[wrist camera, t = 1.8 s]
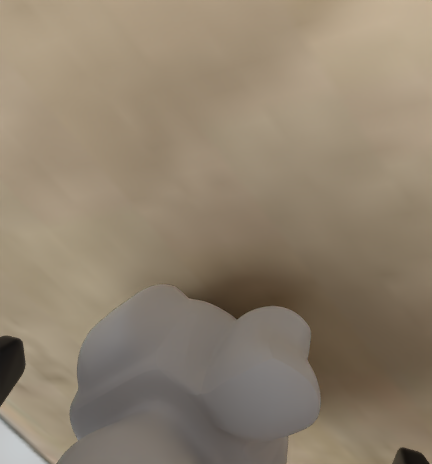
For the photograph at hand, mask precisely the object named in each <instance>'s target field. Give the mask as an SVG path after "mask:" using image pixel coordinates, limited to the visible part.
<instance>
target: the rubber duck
mask: <svg viewBox="0 0 432 464" xmlns="http://www.w3.org/2000/svg"><path fill="white" fill-rule="evenodd" d="M310 342H311V329H310V327H309V326H308V324H307V323H306V322H305V321H304V319H303V318H302V317H300V316H299V315H298V314H297V313H295V312H294V311H292V310H290V309H287V308H284V307H279V306H266V307H261V308H257V309H254V310H251V311H249V312H247V313H245V314H244V315H242V316H241V317H240V318H239V319H236V318H234V317H233V316H232V315H230V314H229V313H227V312H226V311H224V310H222V309H221V308H219V307H217V306H215V305H213V304H210V303H208V302H205V301H201V300H195V299H190V298H188V297H187V296H186V295H185V294H184V293H183V292H182V291H181V290H179V289H178V288H177V287H175V286H173V285H169V284H158V285H153V286H150V287H148V288H145V289H143V290H141V291H140V292H138V293H137V294H135V295H134V296H133V297H131V298H130V299H128V300H127V301H125V302H124V303H123V304H121V305H120V306H118V307H117V308H115V309H114V310H113V311H111V312H110V313H109V314H108V315H107V316H106V317H105V318H103V319H102V320H101V321H100V322H98V323H97V324H96V325H95V326H94V327H93V328H92V329H91V330H90V331H89V333H88V335H87V336H86V338H85V340H84V342H83V344H82V347H81V349H80V353H79V357H78V364H77V378H78V391H77V393H76V395H75V397H74V399H73V401H72V404H71V406H70V421H71V425H72V428H73V431H74V433H75V435H76V437H77V439H78V441H77V442H76V443H75V444H73V445H72V446H71V447H70V448H69V449H68V450H67V451H66V452H65V453H64V454H63V455H62V457H61V458H60V459H59V461H58V462H57V464H286V462H287V452H288V435H291V434H294V433H297V432H299V431H301V430H304V429H306V428H307V427H309V426H310V425H312V424H313V423H314V422H315V420H316V419H317V417H318V415H319V412H320V406H321V396H320V389H319V385H318V381H317V378H316V375H315V373H314V371H313V369H312V368H311V366H310V364H309V362H308V354H309V348H310Z"/></svg>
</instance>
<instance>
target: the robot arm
mask: <svg viewBox="0 0 432 464" xmlns="http://www.w3.org/2000/svg"><path fill="white" fill-rule="evenodd" d="M25 365H26V363H25V355H24V347H23V342H22V341H21V339H19V338H15V337H12V336H2V337H0V406H1V405H2V403H3V402H4V401H5V399H6V398H7V396H8V395H9V393H10V392H11V390H12V389H13V387H14V386H15V384H16V383H17V381H18V380H19V378H20V377H21V376H22V374H23V372H24V369H25ZM392 464H429V462H428V461H427V459H426V458H425V457H424V455H423V454H422V453H420V452H418V451H414V450H411V449H407V448H404V447H402V448H400V449H399V450H398V451H397V454H396V456H395V458H394V461H393V463H392Z"/></svg>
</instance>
